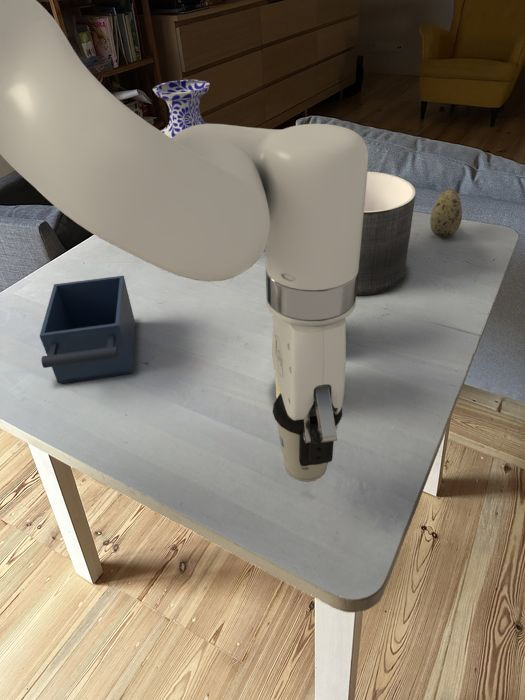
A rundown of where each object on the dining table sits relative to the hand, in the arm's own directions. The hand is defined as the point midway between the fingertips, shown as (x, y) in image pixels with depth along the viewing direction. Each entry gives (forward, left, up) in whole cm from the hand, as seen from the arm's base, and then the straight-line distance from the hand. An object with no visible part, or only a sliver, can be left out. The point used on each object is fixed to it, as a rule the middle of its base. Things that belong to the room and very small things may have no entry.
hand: (306, 432), depth 55 cm
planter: (+21, +48, -11) cm, 53 cm away
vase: (-7, +70, -11) cm, 71 cm away
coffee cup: (0, 0, -5) cm, 5 cm away
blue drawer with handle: (-26, +32, -11) cm, 43 cm away
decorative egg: (+42, +57, -11) cm, 71 cm away
